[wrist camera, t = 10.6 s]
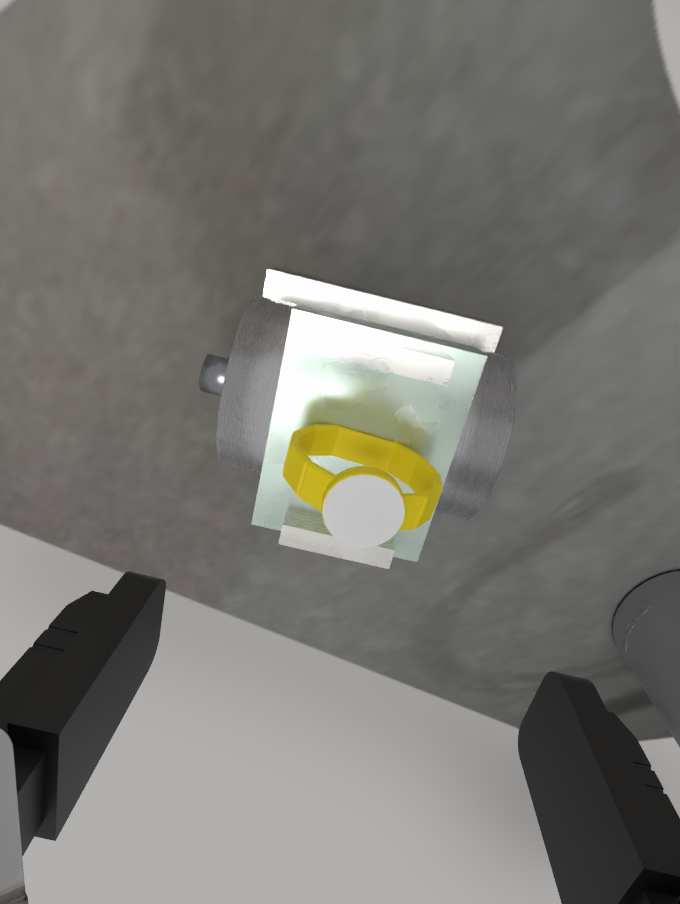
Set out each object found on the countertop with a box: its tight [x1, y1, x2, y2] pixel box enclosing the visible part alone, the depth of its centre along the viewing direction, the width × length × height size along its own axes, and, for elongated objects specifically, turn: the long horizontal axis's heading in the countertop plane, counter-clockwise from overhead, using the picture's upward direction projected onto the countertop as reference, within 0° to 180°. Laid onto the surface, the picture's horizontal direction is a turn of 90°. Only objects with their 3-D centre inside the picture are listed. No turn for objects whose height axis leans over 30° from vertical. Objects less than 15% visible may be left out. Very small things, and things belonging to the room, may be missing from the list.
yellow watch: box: [282, 424, 443, 548], centre depth 19 cm, size 6×3×6 cm, turn 74°
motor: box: [199, 269, 517, 569], centre depth 27 cm, size 16×11×13 cm
